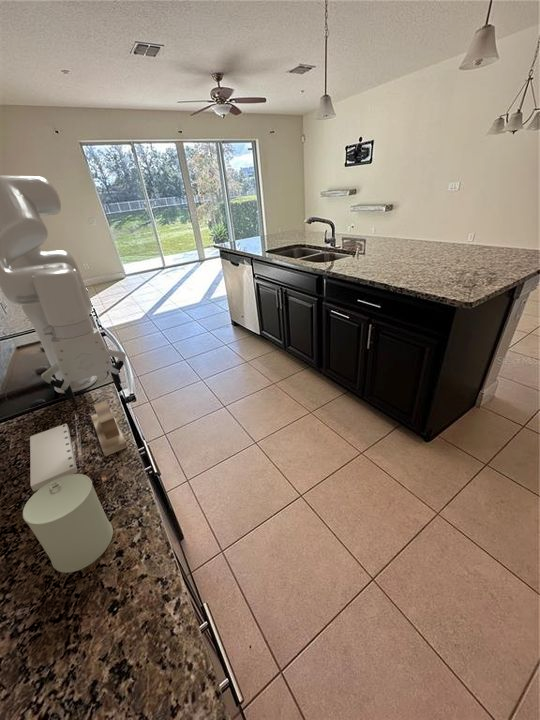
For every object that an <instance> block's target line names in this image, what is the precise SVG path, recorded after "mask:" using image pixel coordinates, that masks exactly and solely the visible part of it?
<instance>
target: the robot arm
mask: <svg viewBox="0 0 540 720" xmlns="http://www.w3.org/2000/svg"><path fill="white" fill-rule="evenodd" d="M61 210H62V205H61V199H60V196H59V194H58V191H57V190H56V188H55V186H54V185H53V184H52V182H50V181H49V180H48V179H46V178H45V177H43V176H39V175H37V176H36V175H35V176H34V175H0V290H1V291H2V294H3V295H4V296H5V298H6V299H7V300H8V301H9V302H11V304H14V305H17V306H21V309H22V311H23V313H24V314H25V316H26V317H27V319H28V321H29V322H30V324H31V326H32V327H33V329H34V330H35V333H36V335H37V337H38V339H39V341H40V343H41V346H42V348H43V350H44V353H45V355H46V357H47V360H48V362H49V364H50V367H48V368H47V370H45V371H44V372H42V373H41V379H42V380H43V381H45V382H46V383H47V384H50V386H51V387H54V392H55V391H56V392H57V393H58V394H59V393H60V394H65V397H66V399H67V401H70V400H71V402H72V405H75V404H76V403H77V399H76V397H75V394H74V393H76V392H79V391H82V390H85V389H87V388H88V387H91V386H92V385H94V384H95V383H96V382H97V380H98V375H101V374H105V373H107V372H110V375H111V378H112V381H113V384H114V386H115V388H116V390H119V389H121V387H120V384H122V380H121V377H120V372H121V371H120V370H121V369H122V368H123V367H124V364H125V360H126V357H127V355H126V353H125V352H124V351H120V350H113V349H107V345H106V344H105V341H104V339H103V337H102V334H101V333H100V332H99V329H97V328H96V327H94V326H93V323H92V320H91V317H90V315H89V314H90V313H91V312H92V311H93V310H92V309H93V305H92V302H91V301H92V300H91V298H90V294H89V293H88V291H87V288H86V285H85V282H84V280H83V278H82V274H81V272H80V269H79V267H78V264H77V262H76V260H75V258H74V256H73V255H71V254H70V252H68V251H66V250H63V249H53V250H42V249H41V246H42V245H43V244H44V243H45V242H46V241H47V239H48V236H49V235H48V234H49V233H48V229H47V227H46V225H45V223H44V221H43V220H42V219H43V218H41V217H43V216H44V217H45V216H55V215H56V216H57V215H58V214H59V213H60V212H61ZM9 267H10V268H9ZM111 358H117V360H116V362H115V363H114V364H113V363H112V359H111ZM53 375H54V376H55V377H53Z"/></svg>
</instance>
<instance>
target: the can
mask: <svg viewBox="0 0 540 720" xmlns="http://www.w3.org/2000/svg"><path fill="white" fill-rule="evenodd" d="M22 518H23V520H24V521H25V523H26V524H27V525H28V527H29V528H30V529H31V531H32V533H33V534H34V536H35V537H36V539H37V540H38V542H39V543H40V545H41V546H42V548H43V549H44V552H45V553H46V554H47V556H48V558H49V559H50V560H49V561H51V565H52V567H53V568H54V570H56V571H57V572H59V573H65V574H67V573H74V572H77V571H81V570H82V569H85V568H86V567H88V566H90V565H91V564H93V563H94V562H96V561H97V560H98V559H99V558H100V557H101V556H103V554H104V553H105V551H106V550H107V549H108V547H109V546H110V544H111V541H112V538H113V535H114V530H113V525H112V524H111V522H110V521H109V519H108V517H107V515H106V513H105V511H104V508H103V506H102V504H101V502H100V499H99V497H98V494H97V492H96V490H95V487H94V485H93V482H92V479H91V478H90V477H89V476H87V475H85V474H81V473H75V474H71V475H66V476H63V477H60V478H58V479H55V480H53V481H51V482H50V483H48V484H46V485H45V486H43V487H42V488H40V489H38V490H36V491H35V492H34V493H33V494H32V495H31V497H30V498H29V499H28V500H27V501H26V503H25V505H24V507H23V510H22Z"/></svg>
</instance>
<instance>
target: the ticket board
mask: <svg viewBox="0 0 540 720" xmlns="http://www.w3.org/2000/svg"><path fill="white" fill-rule="evenodd" d="M29 440H30V441H29V447H30V448H29V449H30V450H29V451H30V453H29V454H30V455H29V457H30V458H29V460H30V462H29V463H30V468H29V469H30V470H29V471H30V474H29V475H30V476H29V477H30V488H31V490H32V491H33V492H34V493H35V492H37V491H38V490H39V489H40V488H42V487H43V486H45V485H46V484H48V483H50V482H51V481H53V480H55V479H58V478H60V477H63V476H66V475H71V474H78V468H77V464H76V463H77V462H76V459H75V454H74V453H75V452H74V448H73V443H72V438H71V434H70V428H69V426H68V424H67V423H63V424H62V425H58V426H56V427H52V428H50V429H48V430H45V431H42V432H38V433H36V434H32V435H30V436H29Z"/></svg>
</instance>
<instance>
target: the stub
mask: <svg viewBox="0 0 540 720" xmlns="http://www.w3.org/2000/svg"><path fill="white" fill-rule="evenodd" d="M93 407H94V409H95V413H94V414H92V415H90V417H91V420H92V422H93V426H94V429H95V432H96V435H97V438H98V441H99V444H100V447H101V450H102V453H103V456H104V457H108V456H110V455H112V454H114V453H116V452H117V453H118V452H119V451H122V450H124V449H126V448H128V444H127V442H126V439H125V437H124V434H123V433H122V431H121V429H120V428H121V427H120V426H119V424H118V421H117V420H116V418H115V416H114V413H113V411H112V409H111V408H110V405H109V404H108V401H107V400H104V401H101V402H98V403H95V404H93Z"/></svg>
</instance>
